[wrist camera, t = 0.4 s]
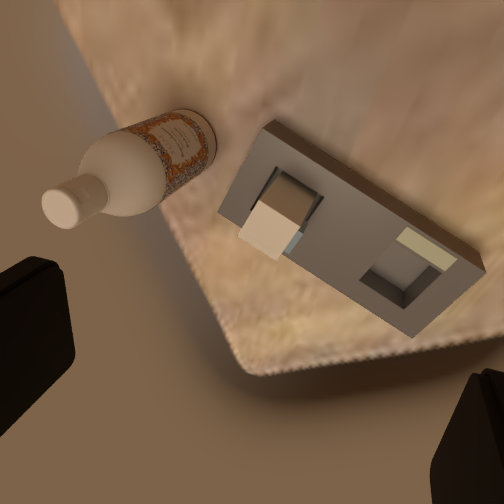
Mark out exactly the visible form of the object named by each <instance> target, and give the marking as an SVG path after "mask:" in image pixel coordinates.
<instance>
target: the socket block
mask: <svg viewBox="0 0 504 504" xmlns="http://www.w3.org/2000/svg"><path fill="white" fill-rule="evenodd" d="M282 171H285V172H286V173H288V174H289V175H291V176H292V177H294V178H296V179H297V180H299V181H300V182H302V183H303V184H305V185H306V186H308V187H309V188H311V189H313V190H314V191H316V192H317V195H316V197H315V199H314V201H313V203H312V205H311V207H310V209H309V210H308V212H307V214H306V216H305V218H304V220H305V221H307V222H308V225H307V227H306V229H305V231H304V234H303V235H302V236H301V238H300V239H299V241H298V242H297V243H296V245H295V246H294V248H293V249H292V250H291V252H290V253H289V254H288V253H286V252H285V251H283V252H282V254H283V255H284V256H286V257H287V258H289V259H290V260H292V261H293V262H295V263H296V264H298V265H299V266H301V267H303V268H304V269H306V270H307V271H309V272H310V273H312V274H313V275H315V276H316V277H318V278H320V279H321V280H323V281H324V282H326V283H327V284H329V285H330V286H332V287H333V288H335V289H337V290H338V291H340V292H341V293H343V294H344V295H346V296H347V297H349V298H350V299H352V300H353V301H355V302H357V303H358V304H360V305H361V306H363V307H364V308H366V309H367V310H369V311H370V312H372V313H374V314H375V315H377V316H378V317H380V318H381V319H383V320H384V321H386V322H387V323H389V324H391V325H392V326H394V327H395V328H397V329H398V330H400V331H401V332H403V333H404V334H406V335H407V336H409V337H411V338H414V337H415V336H416V335H417V334H418V333H419V332H420V331H421V330H423V329H424V328H425V327H426V326H427V325H428V324H429V323H431V322H432V321H433V320H434V319H435V318H436V317H437V316H438V315H440V314H441V313H442V312H443V311H444V310H445V309H446V308H447V307H449V306H450V305H451V304H452V303H453V302H454V301H455V300H456V299H458V298H459V297H460V296H461V295H462V294H463V293H464V292H465V291H467V290H468V289H469V288H470V287H471V286H472V285H473V284H475V283H476V282H477V281H478V280H479V279H480V278H481V277H482V276H484V275H485V274H486V270H485V267H484V265H483V262H482V259H481V256H480V253H479V252H477V251H476V250H474V249H473V248H471V247H470V246H468V245H467V244H465V243H463V242H462V241H460V240H459V239H457V238H456V237H454V236H453V235H451V234H450V233H448V232H446V231H445V230H443V229H442V228H440V227H439V226H437V225H436V224H434V223H433V222H431V221H429V220H428V219H426V218H425V217H423V216H422V215H420V214H419V213H417V212H415V211H414V210H412V209H411V208H409V207H408V206H406V205H405V204H403V203H402V202H400V201H398V200H397V199H395V198H394V197H392V196H391V195H389V194H388V193H386V192H384V191H383V190H381V189H380V188H378V187H377V186H375V185H374V184H372V183H371V182H369V181H367V180H366V179H364V178H363V177H361V176H360V175H358V174H357V173H355V172H353V171H352V170H350V169H349V168H347V167H346V166H344V165H343V164H341V163H340V162H338V161H336V160H335V159H333V158H332V157H330V156H329V155H327V154H326V153H324V152H322V151H321V150H319V149H318V148H316V147H315V146H313V145H312V144H310V143H309V142H307V141H305V140H304V139H302V138H301V137H299V136H298V135H296V134H295V133H293V132H291V131H290V130H288V129H287V128H285V127H284V126H282V125H281V124H279V123H278V122H276V121H274V120H273V121H272V122H270V123H269V124H267V125H266V126H265V127H263V128H262V130H261V131H260V133H259V135H258V137H257V139H256V141H255V143H254V144H253V146H252V148H251V150H250V152H249V154H248V156H247V158H246V159H245V161H244V163H243V165H242V167H241V169H240V171H239V172H238V174H237V176H236V178H235V180H234V182H233V184H232V186H231V187H230V189H229V191H228V193H227V195H226V197H225V199H224V200H223V202H222V204H221V206H220V208H219V210H218V213H219V214H221V215H222V216H224V217H225V218H227V219H228V220H230V221H232V222H233V223H235V224H236V225H238V226H239V227H241V228H242V227H243V225H244V224H245V222H246V220H247V219H248V217H249V215H250V214H251V212H252V210H253V209H254V207H255V205H256V204H257V202H258V200H259V199H260V198H261V197H262V195H263V194H264V193H265V192H266V191H267V189H268V188H269V187H270V186H271V185H272V183H273V182H274V181H275V180H276V178H277V177H278V176H279V175H280V174H281V172H282Z"/></svg>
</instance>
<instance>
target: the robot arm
mask: <svg viewBox="0 0 504 504" xmlns="http://www.w3.org/2000/svg"><path fill="white" fill-rule="evenodd" d="M74 359H75V347H74V340H73V333H72V327H71V320H70V313H69V307H68V300H67V293H66V287H65V280H64V274H63V271H62V270H61V269H60V268H59V265H58V264H57V263H56V262H54V261H52V260H48V259H43V258H39V257H35V256H31V257H28V258H26V259H24V260H22V261H20V262H19V263H17V264H15V265H14V266H12V267H10V268H9V269H7V270H5V271H3V272H1V273H0V437H1V436H2V435H3V434H4V433H5V432H6V431H7V430H8V429H9V428H10V427H11V426H12V425H13V424H14V423H15V422H16V421H17V420H18V419H19V417H21V416H22V415H23V414H24V412H26V411H27V410H28V409H29V408H30V407H31V406H32V405H33V403H35V402H36V401H37V400H38V399H39V398H40V397H41V396H42V395H43V393H45V392H46V391H47V389H48V388H49V387H51V386H52V384H54V383H55V382H56V381H57V379H59V378H60V377H61V376H62V375H63V374H64V373H65V372H66V371H67V370H68V369H69V367H70V366H71V365H72V363H73V361H74ZM430 485H431V495H432V504H504V372H500V371H497V370H493V369H488V368H486V369H484V370H483V371H482V372H481V374H477V373H472V375H471V376H470V377H469V379H468V382H467V384H466V386H465V388H464V391H463V393H462V395H461V397H460V400H459V402H458V404H457V406H456V408H455V410H454V413H453V415H452V417H451V419H450V422H449V424H448V426H447V428H446V430H445V433H444V435H443V437H442V439H441V441H440V444H439V446H438V448H437V450H436V453H435V455H434V457H433V459H432V462H431V467H430Z"/></svg>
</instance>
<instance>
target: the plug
mask: <svg viewBox="0 0 504 504" xmlns="http://www.w3.org/2000/svg"><path fill="white" fill-rule="evenodd" d="M316 195H317V192H316V191H314V190H313V189H311V188H309V187H308V186H306V185H305V184H303V183H302V182H300V181H299V180H297V179H296V178H294V177H292V176H291V175H289V174H288V173H286V172H285V171H282V172H281V174H280V175H279V176H278V177H277V178H276V180H275V181H274V182H273V183H272V185H271V186H270V187H269V188H268V189H267V191H266V192H265V193H264V194H263V195H262V197H261V198H260V199H259V200H258V202H257V204H256V205H255V207H254V209H253V210H252V212H251V214H250V215H249V217H248V219H247V220H246V222H245V224H244V225H243V227H242V229H241V231H240V232H239V234H238V237H240V238H241V239H243V240H244V241H246V242H248V243H249V244H251V245H252V246H254V247H255V248H257V249H258V250H260V251H261V252H263V253H264V254H266V255H268V256H269V257H271V258H272V259H274V260H275V261H277V259H278V258H279V257H280V255H281V254H282V252H283V251H285V252H286V253H288V254H289V253H290V252H291V250H292V249H293V248H294V246H295V245H296V243H297V242H298V241H299V239H300V238H301V236H302V235H303V234H304V231H305V229H306V227H307V225H308V222H307V221H305V220H304V218H305V216H306V214H307V212H308V210H309V209H310V207H311V205H312V203H313V201H314V199H315V197H316Z"/></svg>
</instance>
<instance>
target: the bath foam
mask: <svg viewBox="0 0 504 504" xmlns="http://www.w3.org/2000/svg"><path fill="white" fill-rule="evenodd" d="M215 153H216V141H215V136H214V133H213V131H212V129H211V127H210V126H209V124H208V123H207V122H206V120H205V119H204V118H202V117H201V116H200V115H198V114H197V113H195V112H192V111H189V110H183V109H181V110H174V111H171V112H168V113H165V114H162V115H159V116H156V117H154V118H151V119H148V120H145V121H142V122H139V123H137V124H134V125H131V126H128V127H125V128H122V129H120V130H117V131H114V132H111V133H109V134H107V135H105V136H104V137H102V138H100V139H99V140H98V141H97V142H95V143H94V144H93V145H92V146H91V147H90V148H89V149H88V150H87V152H86V153H85V155H84V157H83V159H82V161H81V164H80V167H79V172H78V176H77V177H75V178H73V179H71V180H68V181H66V182H64V183H62V184H59V185H57V186H55V187H53V188H51V189H49V190H47V191H46V192H45V193H44V195H43V197H42V208H43V211H44V213H45V215H46V216H47V218H48V219H49V220H50V221H51V222H52V223H53V224H55V225H56V226H58V227H60V228H63V229H70V228H73V227H75V226H77V225H79V224H80V223H82V222H84V221H85V220H87V219H89V218H90V217H92V216H93V215H95V214H97V213H98V212H103V213H106V214H110V215H115V216H132V215H137V214H140V213H143V212H145V211H147V210H150V209H152V208H154V207H155V206H156V205H158V204H159V203H161V202H162V201H163V200H165V199H166V198H167V197H169V196H170V195H172V194H173V193H174V192H176V191H177V190H179V189H180V188H181V187H183V186H184V185H186V184H187V183H188V182H190V181H191V180H193V179H194V178H195V177H197V176H198V175H199V174H201V173H202V172H203V171H205V170H206V169H207V168H208V167H209V166H210V165H211V163H212V161H213V159H214V157H215Z"/></svg>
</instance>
